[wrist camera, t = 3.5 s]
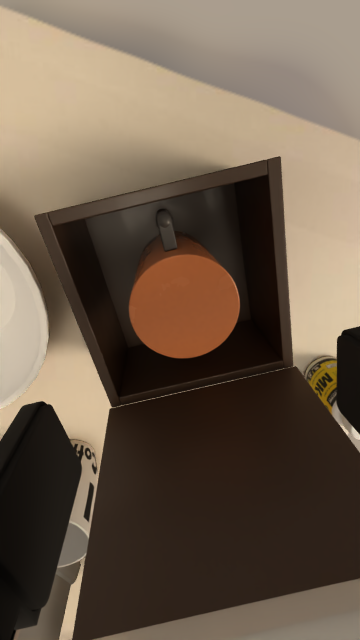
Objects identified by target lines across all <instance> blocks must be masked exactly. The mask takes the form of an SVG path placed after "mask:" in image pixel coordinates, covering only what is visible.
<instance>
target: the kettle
mask: <svg viewBox="0 0 360 640" xmlns="http://www.w3.org/2000/svg"><path fill="white" fill-rule="evenodd" d="M156 225H157V227H158V228H159V231H160V234H159V235H157V236H156V237H154V238H153V239H151V240H150V241H149V242H148V243H147V245H146V246H145V248H144V249H143V251H142V254H141V257H140V260H139V264H138V268H137V272H136V276H135V280H134V283H133V287H132V291H131V295H130V300H129V316H130V321H131V324H132V326H133V329H134V331H135V332H136V334H137V336H138V337H139V338H140V340H141V341H142V342H143V343H144V344H145V345H146V346H148V347H149V348H150V349H152V350H154V351H155V352H157V353H159V354H162V355H165V356H168V357H173V358H192V357H197V356H200V355H203V354H206V353H208V352H210V351H212V350H214V349H215V348H217V347H218V346H219V345H220V344H222V343H223V342H224V341H225V340H226V339H227V337H228V336H229V335H230V333H231V332H232V330H233V329H234V327H235V325H236V322H237V319H238V315H239V310H240V299H239V293H238V290H237V287H236V284H235V282H234V281H233V279H232V277H231V276H230V275H229V273H228V272H227V271H226V270H225V269H224V268H223V267H222V266H221V265H220V264H219V262H218V261H217V260H216V259H215V258H214V257H213V256H212V255H211V254H210V253H209V252H208V251H207V250H206V249H205V248H204V247H203V245H202V244H201V243H200V242H199V241H198V240H197V239H195V238H194V237H193V236H191V235H189V234H187V233H184V232H179V231H174V229H173V218H172V216H171V215H170V213H169V212H168V211H167V210H166V209H159V210H158V211H157V213H156Z"/></svg>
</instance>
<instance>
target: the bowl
mask: <svg viewBox="0 0 360 640" xmlns="http://www.w3.org/2000/svg"><path fill="white" fill-rule="evenodd" d="M48 339H49V321H48V310H47V305H46V302H45V298H44V295H43V291H42V288H41V285H40V283H39V281H38V279H37V277H36V275H35V273H34V271H33V269H32V267H31V265H30V263H29V262H28V260H27V259H26V258H25V256H24V255H23V254H22V252H21V251H20V250H19V248H18V247H17V246H16V244H15V243H14V241H13V240H12V239H11V238H10V237H9V236H8V235H7V234H6V233H5V232H4V231H2V230H1V229H0V409H2V408H4V407H6V406H8V405H10V404H11V403H12V402H13V401H15V400H16V399H17V398H18V397H20V396H21V395H22V394H24V393H25V392H26V390H27V389H28V388H29V386H30V385H31V384H32V383H33V381H34V380H35V379H36V378H37V376H38V373H39V371H40V369H41V367H42V364H43V362H44V360H45V356H46V351H47V345H48Z"/></svg>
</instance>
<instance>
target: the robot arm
mask: <svg viewBox="0 0 360 640" xmlns="http://www.w3.org/2000/svg"><path fill="white" fill-rule="evenodd" d="M336 403H337V407H338V409H339V411H340V412H341V414H342V415H343V416H344V417H345V418H346V420H347V421H348V422H349V423H350V424H351V425H352V426H353V428H354V429H355V430H356V431H357V432H358V433H359V434H360V327H355V328H351V329H347V330H344V331H343V332H342V334H341V336H339V337H338V338H337V385H336ZM81 474H82V464H81V461H80V459H79V457H78V455H77V453H76V451H75V449H74V447H73V445H72V443H71V442H70V440H69V438H68V436H67V434H66V432H65V430H64V428H63V426H62V424H61V422H60V420H59V418H58V416H57V414H56V413H55V411H54V409H53V407H52V406H51V405H50V404H48V405H47V404H46V403H45V402H43V401H40V402H36V403H32V404H28V405H24V406H23V407H22V408H21V409H20V411H19V412H18V414H17V415H16V417H15V419H14V420H13V422H12V423H11V425H10V427H9V428H8V430H7V431H6V433H5V434H4V436H3V438H2V439H1V441H0V640H11V637H12V634H13V631H14V630H19V629H23V628H28V627H32V626H36V625H37V623H38V619H39V616H40V612H41V608H43V607H44V606H45V605H46V604H47V602H48V600H49V597H50V593H51V589H52V586H53V582H54V578H55V574H56V570H57V566H58V563H59V559H60V555H61V551H62V547H63V543H64V539H65V536H66V532H67V528H68V524H69V520H70V516H71V513H72V509H73V505H74V501H75V497H76V493H77V489H78V486H79V482H80V478H81ZM93 640H360V579H355V580H351V581H346V582H342V583H337V584H333V585H328V586H324V587H319V588H315V589H310V590H306V591H302V592H297V593H293V594H288V595H284V596H280V597H275V598H271V599H266V600H262V601H258V602H253V603H249V604H244V605H240V606H236V607H231V608H227V609H223V610H218V611H214V612H209V613H205V614H201V615H196V616H192V617H188V618H183V619H179V620H174V621H170V622H166V623H162V624H157V625H153V626H149V627H145V628H140V629H136V630H132V631H127V632H123V633H119V634H115V635H110V636H106V637H102V638H98V639H93Z"/></svg>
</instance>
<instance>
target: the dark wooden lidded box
mask: <svg viewBox="0 0 360 640" xmlns="http://www.w3.org/2000/svg"><path fill="white" fill-rule="evenodd" d="M159 209H166V210H167V211H168V212H169V213H170V215H171V216H172V218H173V229H174V231H179V232H184V233H187V234H189V235H191V236H193V237H194V238H195V239H197V240H198V241H199V242H200V243H201V244H202V245H203V247H204V248H205V249H206V250H207V251H208V252H209V253H210V254H211V255H212V256H213V257H214V258H215V259H216V260H217V261H218V262H219V264H220V265H221V266H222V267H223V268H224V269H225V270H226V271H227V272H228V273H229V275H230V276H231V277H232V279H233V281H234V282H235V284H236V287H237V290H238V293H239V299H240V310H239V315H238V319H237V322H236V325H235V327H234V329H233V330H232V332H231V333H230V335H229V336H228V337H227V339H226V340H225V341H224V342H223V343H222V344H220V345H219V346H218V347H217V348H215V349H214V350H212V351H210V352H208V353H206V354H203V355H200V356H197V357H192V358H173V357H168V356H165V355H162V354H159V353H157V352H155V351H154V350H152V349H150V348H149V347H148V346H146V345H145V344H144V343H143V342H142V341H141V340H140V338H139V337H138V336H137V334H136V332H135V331H134V329H133V326H132V324H131V321H130V316H129V300H130V295H131V291H132V287H133V283H134V280H135V276H136V272H137V268H138V264H139V260H140V257H141V254H142V251H143V249H144V248H145V246H146V245H147V243H148V242H149V241H150V240H151V239H153V238H154V237H156V236H157V235H159V234H160V231H159V228H158V227H157V225H156V213H157V211H158V210H159ZM34 217H35V220H36V222H37V225H38V227H39V230H40V232H41V234H42V237H43V239H44V242H45V244H46V247H47V249H48V252H49V254H50V257H51V259H52V261H53V264H54V266H55V269H56V271H57V274H58V276H59V279H60V281H61V283H62V286H63V288H64V291H65V293H66V296H67V298H68V301H69V303H70V306H71V308H72V310H73V313H74V315H75V318H76V320H77V323H78V325H79V328H80V330H81V332H82V335H83V337H84V340H85V342H86V345H87V347H88V350H89V352H90V355H91V357H92V359H93V362H94V364H95V367H96V369H97V372H98V374H99V377H100V379H101V381H102V384H103V386H104V389H105V391H106V394H107V396H108V399H109V401H110V404H111V406H112V407H117V406H121V405H126V404H130V403H135V402H139V401H143V400H148V399H152V398H157V397H161V396H165V395H170V394H174V393H178V392H183V391H187V390H192V389H196V388H200V387H205V386H209V385H214V384H218V383H222V382H227V381H231V380H235V379H240V378H244V377H249V376H253V375H257V374H262V373H266V372H271V371H275V370H279V369H283V368H288V367H293V353H292V337H291V320H290V304H289V287H288V271H287V254H286V238H285V222H284V205H283V189H282V172H281V157H280V156H279V157H275V158H271V159H267V160H263V161H258V162H254V163H250V164H246V165H242V166H238V167H233V168H229V169H225V170H221V171H217V172H213V173H209V174H204V175H200V176H196V177H192V178H188V179H184V180H179V181H175V182H171V183H167V184H163V185H159V186H155V187H150V188H146V189H142V190H138V191H134V192H130V193H125V194H121V195H117V196H113V197H109V198H105V199H101V200H96V201H92V202H88V203H84V204H80V205H76V206H71V207H67V208H63V209H59V210H55V211H51V212H47V213H42V214H38V215H35V216H34Z"/></svg>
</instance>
